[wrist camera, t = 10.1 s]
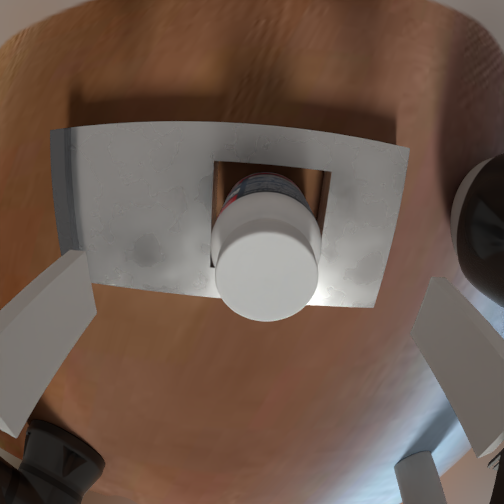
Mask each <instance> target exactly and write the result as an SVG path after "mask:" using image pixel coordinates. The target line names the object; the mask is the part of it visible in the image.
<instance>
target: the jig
mask: <svg viewBox="0 0 504 504" xmlns="http://www.w3.org/2000/svg"><path fill="white" fill-rule="evenodd" d="M50 150H51V173H52V187H53V199H54V208H55V217H56V224H57V231H58V238H59V244H60V250H61V256H63V255H64V254H65V253H67V252H68V251H69V250H78V251H86V255H87V262H88V269H89V275H90V280H91V283H97V284H104V285H111V286H119V287H126V288H134V289H142V290H150V291H158V292H167V293H176V294H185V295H194V296H204V297H214V298H221V296H220V294H219V292H218V290H217V287H216V283H215V266H214V264H213V261H212V257H211V248H210V241H211V234H212V230H213V227H214V224H215V222H216V204H217V183H218V164H219V161H228V162H243V163H256V164H268V165H278V166H288V167H298V168H307V169H315V170H323V171H324V177H323V184H322V192H321V199H320V206H319V213H318V219H317V224H318V226H319V229H320V234H321V239H322V249H321V257H320V261H319V264H318V284H317V288H316V291H315V293H314V295H313V297H312V298H311V300H310V301H309V302H308V304H307V305H321V306H341V307H365V308H373V307H374V304H375V301H376V298H377V295H378V291H379V288H380V285H381V281H382V278H383V274H384V271H385V267H386V263H387V259H388V256H389V252H390V248H391V244H392V240H393V236H394V231H395V227H396V222H397V218H398V213H399V208H400V204H401V199H402V193H403V188H404V182H405V177H406V171H407V165H408V158H409V151H410V148H406V147H402V146H398V145H393V144H389V143H384V142H379V141H374V140H369V139H364V138H359V137H353V136H347V135H341V134H335V133H329V132H322V131H315V130H307V129H299V128H290V127H281V126H271V125H259V124H246V123H228V122H200V121H158V122H131V123H114V124H101V125H90V126H80V127H72V128H63V129H56V130H50Z"/></svg>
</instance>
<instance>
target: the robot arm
mask: <svg viewBox="0 0 504 504" xmlns="http://www.w3.org/2000/svg"><path fill="white" fill-rule="evenodd" d="M96 314H97V311H96V306H95V301H94V296H93V291H92V286H91V280H90V275H89V269H88V262H87V255H86V251H78V250H69V251H68V252H67V253H65V254H64V255H63V256H62V257H60V258H59V259H58V260H57V261H55V262H54V263H53V264H52V265H51V266H49V267H48V268H47V269H46V270H45V271H43V272H42V273H41V274H40V275H39V276H38V277H36V278H35V279H34V280H33V281H32V282H31V283H30V284H28V285H27V286H26V287H25V288H24V289H23V290H22V291H21V292H20V293H18V294H17V295H16V296H15V297H14V298H13V299H12V300H11V301H10V302H9V303H8V304H7V305H6V306H5V307H3V308H2V309H1V310H0V429H1V430H2V431H4V432H6V433H8V434H10V435H11V436H13V437H15V438H17V437H18V435H19V434H20V432H21V430H22V428H23V426H24V425H25V423H26V421H27V419H28V418H29V416H30V414H31V412H32V411H33V409H34V407H35V406H36V404H37V402H38V401H39V399H40V397H41V396H42V394H43V392H44V391H45V389H46V388H47V386H48V384H49V383H50V381H51V380H52V378H53V376H54V375H55V373H56V372H57V370H58V369H59V367H60V366H61V364H62V363H63V361H64V360H65V358H66V357H67V355H68V354H69V352H70V351H71V349H72V348H73V346H74V345H75V343H76V342H77V340H78V339H79V338H80V336H81V335H82V333H83V332H84V330H85V329H86V328H87V326H88V325H89V323H90V322H91V321H92V319H93V318H94V316H95V315H96ZM410 335H411V336H412V338H413V340H414V341H415V343H416V344H417V346H418V348H419V349H420V351H421V353H422V354H423V356H424V358H425V359H426V361H427V363H428V365H429V366H430V368H431V370H432V371H433V373H434V375H435V377H436V379H437V380H438V382H439V384H440V386H441V387H442V389H443V391H444V393H445V395H446V397H447V398H448V400H449V402H450V404H451V406H452V408H453V410H454V412H455V414H456V415H457V417H458V419H459V421H460V423H461V425H462V427H463V429H464V431H465V433H466V435H467V437H468V440H469V442H470V444H471V446H472V448H473V450H474V452H475V454H476V457H477V458H480V457H482V456H484V455H487V454H489V453H491V452H493V451H494V450H495V449H496V448H497V447H498V446H499V445H500V443H502V442H503V440H504V339H503V338H502V337H501V336H500V335H499V334H498V332H497V331H496V330H495V329H494V328H493V327H492V326H491V324H490V323H489V322H488V321H487V320H486V319H485V318H484V317H483V316H482V315H481V314H480V312H479V311H478V310H477V309H476V308H475V307H474V306H473V305H472V304H471V303H470V302H469V301H468V300H467V299H466V298H465V297H464V296H463V295H462V294H461V293H460V292H459V291H458V290H457V289H456V288H455V287H454V286H453V285H452V284H451V283H450V282H449V281H448V280H447V279H446V278H443V277H431V279H430V282H429V285H428V288H427V291H426V294H425V296H424V299H423V302H422V305H421V307H420V310H419V313H418V315H417V318H416V320H415V323H414V325H413V328H412V330H411V333H410ZM497 460H499V463H497V464H496V465H495V466H494V468H493V469H494V470H497V476H496V480H495V485H494V489H493V493H492V497H491V501H490V504H504V448H503V449H502V451H501V452H499V454H498V455H496V456H495V458H493V459H492V460H491V461H490V462H489V464H488V468H490V467H491V466H492V465H493V464H494V463H495V462H496V461H497ZM104 467H105V462H104V460H103V459H102V458H101V456H100V455H99V454H98V453H97V452H95V451H94V450H93V449H92V448H91V447H89V446H88V445H87V444H85V443H84V442H82V441H81V440H79V439H78V438H76V437H75V436H73V435H71V434H70V433H68V432H66V431H64V430H63V429H61V428H59V427H57V426H55V425H52V424H50V423H47V422H45V421H41V420H32V421H31V423H30V425H29V427H28V428H27V431H26V438H25V446H24V455H23V460H22V463H21V464H20V467H19V469H18V470H17V469H16V468H14V467H13V466H12V465H10V464H9V463H8V462H6V461H5V460H4V459H3V458H2V457H0V504H81V501H82V498H83V496H84V494H85V493H86V492H87V491H88V490H89V488H90V487H91V486H92V485H93V484H94V483H95V482H96V481H97V480H98V479H99V477H100V476H101V475H102V473H103V470H104Z"/></svg>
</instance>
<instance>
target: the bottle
mask: <svg viewBox="0 0 504 504" xmlns="http://www.w3.org/2000/svg"><path fill="white" fill-rule="evenodd" d="M394 470H395V474H396V478H397V482H398V486H399V489H400V493H401V497H402V501H403V504H447V502H446V498H445V495H444V492H443V488H442V485H441V482H440V478H439V475H438V472H437V469H436V466H435V463H434V460H433V458H432V455H431V452H430V451H422V452H418V453H416V454H413V455H411V456H408V457H406V458H405V459H403V460H401V461H400V462H398V463H397V464H396V465H395V467H394Z"/></svg>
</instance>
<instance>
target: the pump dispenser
mask: <svg viewBox="0 0 504 504" xmlns="http://www.w3.org/2000/svg"><path fill="white" fill-rule="evenodd" d="M450 227H451V237H452V242H453V246H454V249H455V252H456V255H457V257H458V260H459V264H460V267H461V270H462V272H463V274H464V275H465V277H466V278H467V280H468V281H469V282H470V283H471V284H472V285H473V286H474V287H475V288H476V289H477V290H479V291H480V292H481V293H482V294H484V295H485V296H487V297H488V298H489V299H491V300H492V301H494V302H495V303H497V304H498V305H500V306H501V307H503V308H504V153H503V154H500V155H498V156H496V157H493V158H490V159H487V160H485V161H483V162H481V163H479V164H478V165H477V166H475V167H474V168H473V169H472V170H471V171H470V172H469V173H468V174H467V175H466V176H465V178H464V179H463V181H462V183H461V184H460V186H459V188H458V190H457V193H456V195H455V198H454V201H453V205H452V210H451V221H450Z"/></svg>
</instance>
